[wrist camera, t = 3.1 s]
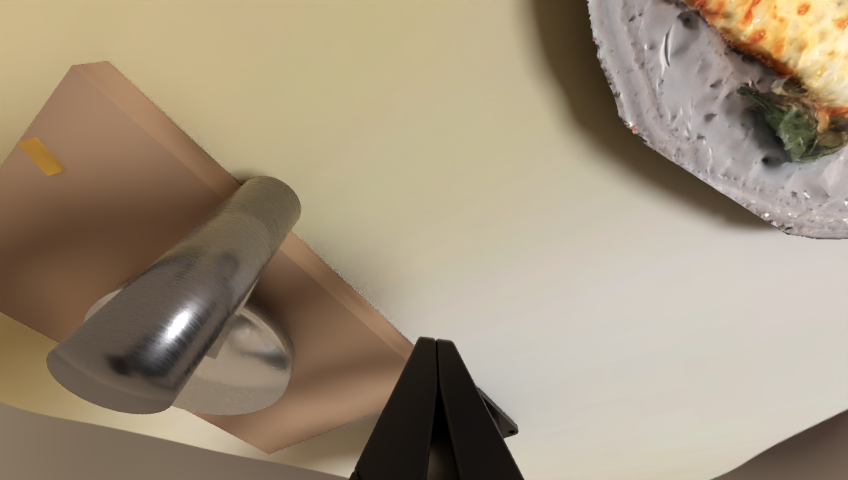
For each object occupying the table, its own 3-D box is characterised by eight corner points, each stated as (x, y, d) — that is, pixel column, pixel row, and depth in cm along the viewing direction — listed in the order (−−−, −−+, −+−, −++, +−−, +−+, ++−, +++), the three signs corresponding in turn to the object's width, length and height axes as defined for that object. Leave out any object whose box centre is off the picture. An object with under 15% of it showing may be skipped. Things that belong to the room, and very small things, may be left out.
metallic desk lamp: (261, 414, 22) (186, 582, 16) (93, 355, 19) (-85, 531, 13) (391, 243, 15) (354, 435, 8) (144, 103, 12) (-247, 218, 5)
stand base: (437, 367, 22) (437, 390, 21) (276, 434, 28) (267, 456, 26) (107, 60, 13) (66, 66, 11) (-39, 255, 18) (-79, 275, 17)
